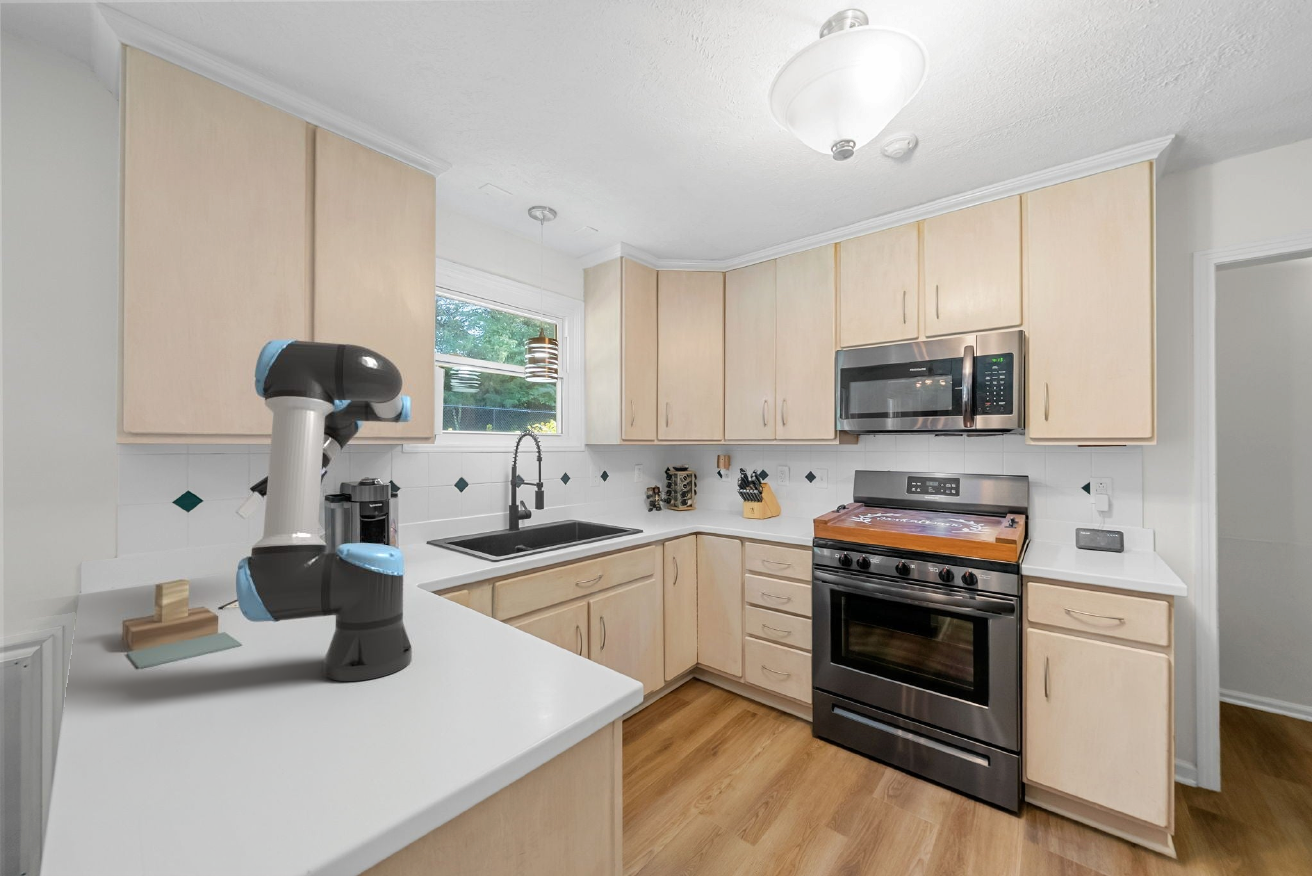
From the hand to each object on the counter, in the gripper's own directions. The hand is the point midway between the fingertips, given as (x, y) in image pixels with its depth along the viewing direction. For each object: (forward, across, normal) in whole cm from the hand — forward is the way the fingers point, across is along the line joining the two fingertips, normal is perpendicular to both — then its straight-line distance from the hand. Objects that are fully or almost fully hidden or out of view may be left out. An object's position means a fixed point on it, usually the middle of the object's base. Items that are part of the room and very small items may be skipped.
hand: (260, 516), depth 131 cm
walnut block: (+27, +8, -9) cm, 30 cm away
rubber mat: (+30, -4, -6) cm, 31 cm away
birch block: (+24, +8, -6) cm, 27 cm away
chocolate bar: (+8, +20, -29) cm, 37 cm away
